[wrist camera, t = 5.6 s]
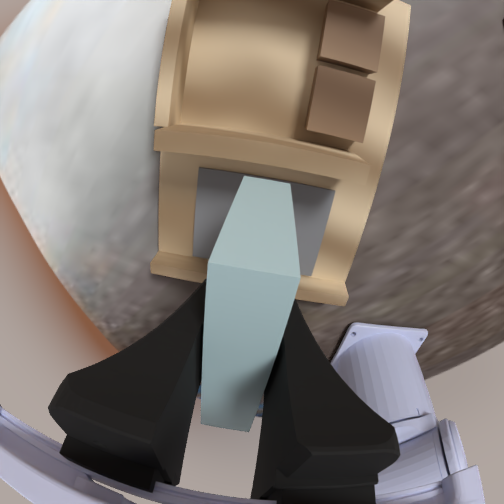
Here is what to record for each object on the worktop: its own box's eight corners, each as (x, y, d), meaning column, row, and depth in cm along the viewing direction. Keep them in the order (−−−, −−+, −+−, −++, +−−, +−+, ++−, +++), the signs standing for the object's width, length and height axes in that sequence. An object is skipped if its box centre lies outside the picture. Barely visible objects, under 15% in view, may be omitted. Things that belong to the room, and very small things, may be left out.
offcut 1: (368, 74, 13) (377, 72, 11) (316, 60, 13) (320, 56, 11) (376, 22, 11) (385, 16, 10) (325, 7, 11) (329, -1, 10)
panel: (260, 320, 16) (249, 431, 10) (225, 314, 16) (200, 423, 10) (290, 183, 12) (300, 277, 6) (244, 175, 12) (207, 262, 6)
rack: (339, 286, 20) (349, 325, 17) (161, 256, 20) (140, 290, 17) (407, 7, 10) (437, -10, 7) (191, -31, 10) (169, -57, 7)
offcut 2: (355, 139, 15) (362, 143, 13) (304, 127, 15) (306, 129, 13) (367, 82, 13) (375, 80, 12) (314, 68, 13) (318, 65, 12)
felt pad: (311, 274, 19) (311, 276, 19) (193, 254, 19) (192, 256, 19) (335, 190, 16) (335, 191, 16) (199, 166, 16) (198, 167, 16)
